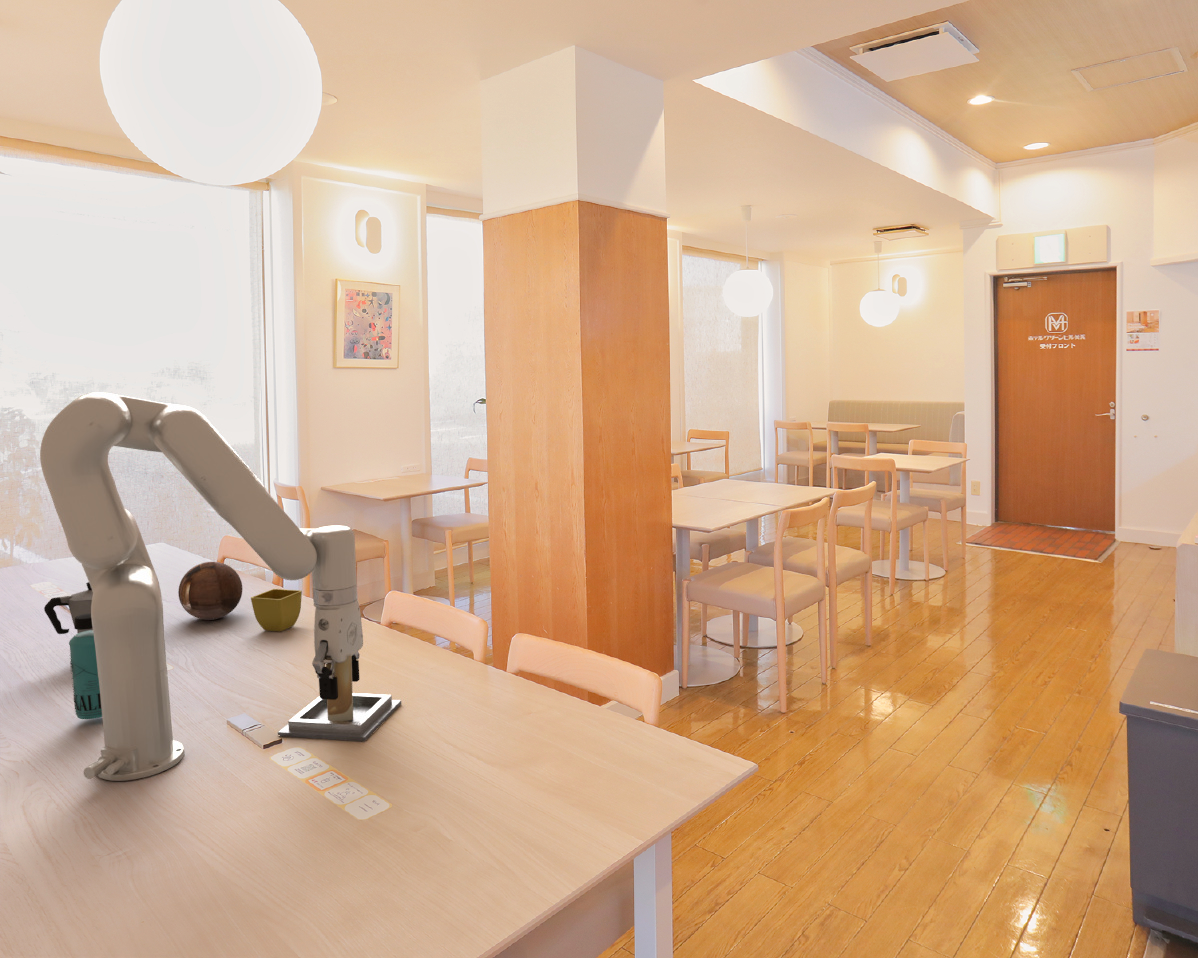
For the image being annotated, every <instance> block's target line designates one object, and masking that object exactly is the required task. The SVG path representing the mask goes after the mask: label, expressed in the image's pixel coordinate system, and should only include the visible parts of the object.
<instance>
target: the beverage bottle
mask: <svg viewBox="0 0 1198 958" xmlns="http://www.w3.org/2000/svg"><path fill="white" fill-rule="evenodd" d="M73 626H74V629H75V630H85V629H92V628H93V627H92V618H91V613H88V614H82V615H79V616H76V617H75V625H74V624H73ZM68 644H69V651H70V652H69V653H70V654H69V657H70V662H69V664H70V665H69V666H70V673H71V680H72V682H71V684H72V685H71V686H72V692H73V704H74V710H75V715H76V717H77V718H78V719H81V720H94V719H99V718H102V709H101V698H100V687H99V678H98V669H97V658H96V649H95V641H94V634H93V630H89V631H84V632H80V633H76V634H75V635H73V637H72V638H71V639H70V640H69V642H68Z"/></svg>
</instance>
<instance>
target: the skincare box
mask: <svg viewBox="0 0 1198 958" xmlns="http://www.w3.org/2000/svg"><path fill="white" fill-rule="evenodd" d="M326 660H332V658H331V657H326ZM325 667H327V668H328V669H329V670H330V668H331V664H325ZM335 677H337V684H338V698H337V699H336V700H330V699H327V712H328V720H331V721H349V720H353V693H354V692H353V682H352V656H351V654H349V655H348V656H347V660H346V661H344V662H343V663H337V667H336V672H335Z"/></svg>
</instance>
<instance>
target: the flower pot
mask: <svg viewBox="0 0 1198 958" xmlns="http://www.w3.org/2000/svg"><path fill="white" fill-rule="evenodd" d="M302 593H303V592H302V590H297V589H282V588H272V589H269V590H267V591H265V592H264V591H263V592H261V593H259V594H257V595H253V596H251V597H250V601H251V607H252V610H253V615H254V617H255V620H256V622H257V623H258V624H259V626H260V627H261V628H262V629H263V630H264V631H266V632H270V631H271V632H279V633H280V632H283V631H286V630H287V629H289V628H293V627H294V626H295V624H296V623H297V620H298V619H299V616H300V613H301V609H302V608H301V607H302Z"/></svg>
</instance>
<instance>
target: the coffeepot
mask: <svg viewBox="0 0 1198 958" xmlns="http://www.w3.org/2000/svg"><path fill="white" fill-rule="evenodd" d="M85 585H86V587H87V590H83V591H80V592H77V593H73V594H71V595H64V596H57V597H51V599H49V601H48V602H46V604H45V605H44V607H43V611H44V613H45V614H46V616H47V618H48V619H49V621H50V623H51V625H52V626H53V628H54V630H55V632H56V633H57V634H58V635H67V634H68V633H69V632H70V628H63V627H62V623H61V621H60V619H59V618H58V615H57V612H56V610H55V609H54V608H55V607H60V606H61V607H64V606H68V609H69V613H70V616H71V621H72V623H73V626H74V625H75V617H76V616H79V615H82V614H88V613H91V604H92V597H93V591H92V588H91V586H90V583H89V581H88V582H86V583H85ZM76 630H77V629H76ZM89 630H93V628H92V629H85V630H77V633H76V634H78V633H80V632H84V631H89Z"/></svg>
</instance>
